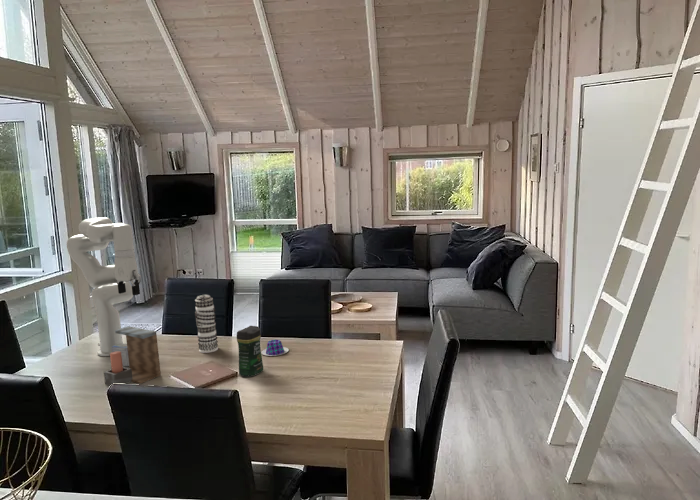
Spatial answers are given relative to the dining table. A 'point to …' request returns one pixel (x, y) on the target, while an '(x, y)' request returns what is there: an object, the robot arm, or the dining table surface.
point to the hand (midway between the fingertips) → (129, 293)
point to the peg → (116, 362)
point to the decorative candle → (206, 324)
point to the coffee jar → (249, 351)
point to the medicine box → (122, 352)
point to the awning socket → (137, 357)
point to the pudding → (274, 348)
